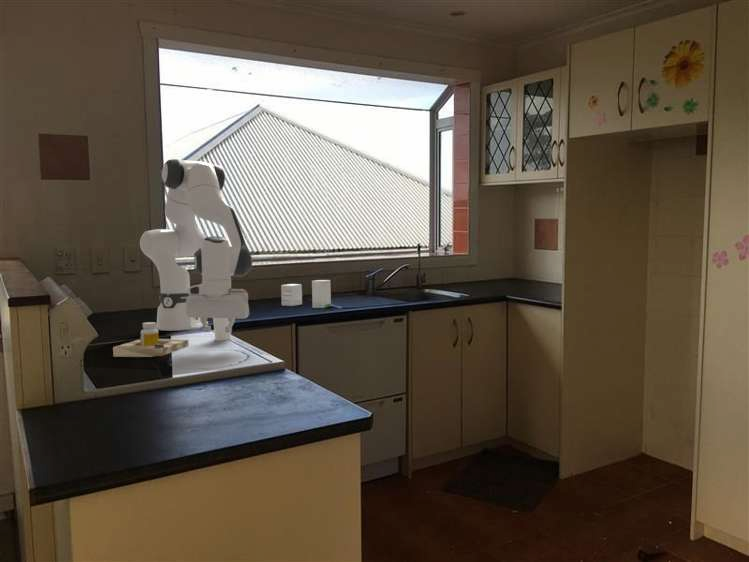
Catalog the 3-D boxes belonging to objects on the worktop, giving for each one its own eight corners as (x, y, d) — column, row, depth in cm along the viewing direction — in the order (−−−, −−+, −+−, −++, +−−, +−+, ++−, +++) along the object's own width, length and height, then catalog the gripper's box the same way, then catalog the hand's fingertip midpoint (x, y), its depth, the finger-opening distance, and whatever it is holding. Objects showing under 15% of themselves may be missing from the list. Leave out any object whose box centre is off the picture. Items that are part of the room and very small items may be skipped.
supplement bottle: (137, 353, 204) (136, 323, 203) (151, 350, 209) (150, 321, 208) (148, 354, 201) (147, 324, 201) (162, 352, 206) (161, 322, 205)
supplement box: (291, 308, 320) (291, 283, 319) (302, 309, 316) (302, 284, 315) (281, 310, 314) (280, 284, 313) (292, 311, 310) (291, 285, 309)
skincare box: (324, 314, 297) (323, 281, 296) (311, 313, 299) (310, 280, 298) (331, 312, 305) (331, 279, 304) (319, 311, 307) (318, 279, 306)
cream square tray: (143, 347, 215) (142, 335, 214) (188, 348, 211) (188, 336, 211) (113, 356, 199) (112, 343, 198) (161, 358, 195) (161, 345, 195)
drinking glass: (211, 342, 223) (210, 299, 222) (231, 341, 226) (230, 298, 225) (214, 345, 217) (213, 301, 216) (234, 344, 220) (233, 300, 218)
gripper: (251, 287, 202) (252, 331, 203) (192, 287, 206) (193, 329, 207) (243, 289, 195) (244, 334, 197) (182, 288, 200) (183, 332, 201)
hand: (218, 332), depth 202 cm, fingers open, 6 cm apart
